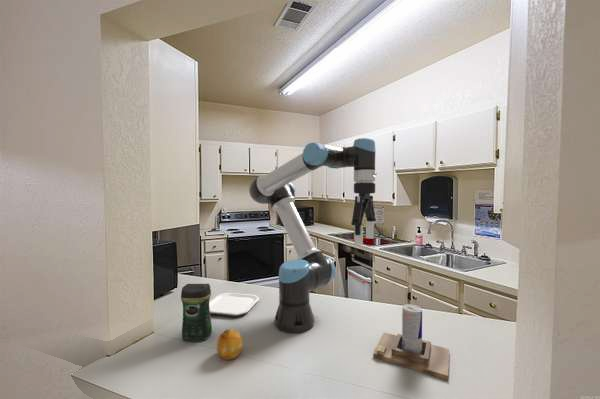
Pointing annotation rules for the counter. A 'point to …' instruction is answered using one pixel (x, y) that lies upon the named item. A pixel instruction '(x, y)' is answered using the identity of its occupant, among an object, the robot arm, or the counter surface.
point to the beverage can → (412, 329)
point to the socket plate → (414, 356)
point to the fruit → (229, 344)
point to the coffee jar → (196, 312)
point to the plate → (232, 304)
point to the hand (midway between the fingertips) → (364, 241)
